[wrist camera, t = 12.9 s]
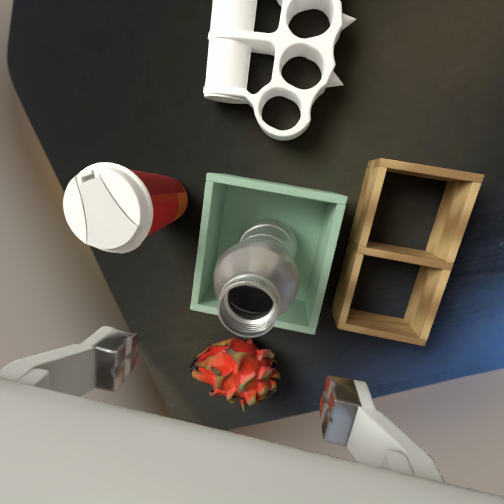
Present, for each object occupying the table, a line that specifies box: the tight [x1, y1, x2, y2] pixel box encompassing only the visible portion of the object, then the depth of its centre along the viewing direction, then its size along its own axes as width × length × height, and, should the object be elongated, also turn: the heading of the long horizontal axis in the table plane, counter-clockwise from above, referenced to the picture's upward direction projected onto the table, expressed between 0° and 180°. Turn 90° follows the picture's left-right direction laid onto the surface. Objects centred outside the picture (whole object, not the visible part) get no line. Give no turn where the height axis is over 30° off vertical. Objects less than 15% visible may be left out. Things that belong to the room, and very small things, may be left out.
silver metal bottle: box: [214, 219, 299, 338], centre depth 28 cm, size 6×7×20 cm
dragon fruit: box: [190, 337, 281, 411], centre depth 39 cm, size 8×8×12 cm
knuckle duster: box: [203, 0, 356, 141], centre depth 31 cm, size 3×18×15 cm
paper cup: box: [63, 162, 188, 253], centre depth 32 cm, size 8×8×14 cm
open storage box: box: [190, 173, 348, 335], centre depth 34 cm, size 15×14×8 cm
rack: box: [331, 158, 484, 346], centre depth 34 cm, size 19×10×5 cm, turn 171°
